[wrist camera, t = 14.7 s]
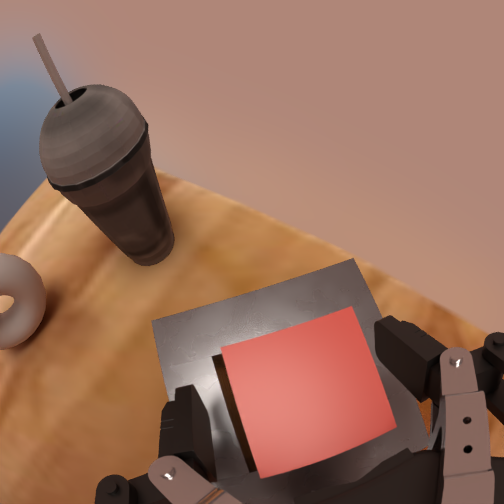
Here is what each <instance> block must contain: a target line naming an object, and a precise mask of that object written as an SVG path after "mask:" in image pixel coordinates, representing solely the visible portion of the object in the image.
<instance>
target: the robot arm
mask: <svg viewBox="0 0 504 504" xmlns="http://www.w3.org/2000/svg"><path fill="white" fill-rule="evenodd" d="M374 338H375V352H376V355H377V358H378V359H379V361H380V362H381V363H382V364H383V365H384V366H385V367H386V368H387V369H388V370H389V371H390V372H391V373H392V374H393V375H394V376H395V377H396V378H397V379H398V380H399V381H400V382H401V383H402V384H403V385H404V386H405V387H406V389H407V390H408V391H409V392H410V393H411V394H412V395H413V396H414V397H415V398H416V399H417V400H418V401H419V402H420V403H422V402H423V401H425V400H427V399H428V398H430V399H431V400H432V404H431V425H430V439H429V445H428V449H427V450H422V451H417V452H413V453H412V452H411V451H410V450H409V449H408V447H407V448H405V449H404V450H402V451H400V452H399V453H397V454H395V455H393V456H391V457H390V458H388V459H386V460H384V461H382V462H381V463H380V464H379V465H377V466H376V467H375V468H374V469H372V470H371V471H370V472H368V473H367V474H366V475H365V476H363V477H362V478H361V479H359V480H357V481H355V482H351V483H346V484H341V485H336V486H331V487H325V488H322V489H319V490H316V491H313V492H310V493H308V494H305V495H302V496H298V497H295V498H293V499H294V502H295V504H504V457H492V456H490V437H489V425H488V416H487V409H488V410H489V411H490V412H491V413H492V414H493V415H494V416H495V417H496V418H497V419H498V420H499V421H500V422H501V423H502V424H503V425H504V380H503V379H502V377H503V374H504V333H500V332H496V333H492V334H489V335H488V336H487V337H486V338H485V342H484V346H483V347H481V348H478V349H476V350H473V351H470V352H469V351H468V350H466V349H464V348H460V347H454V348H449V349H448V348H446V347H445V346H444V345H442V344H441V343H440V342H438V341H437V340H435V339H434V338H433V337H431V336H430V335H427V333H426V332H424V331H423V330H421V329H420V328H419V327H417V326H416V325H414V324H413V323H409V322H406V321H401V322H400V321H398V320H397V319H396V318H394V317H393V316H391V315H389V316H387V317H384V318H382V319H380V320H378V321H376V322H375V323H374ZM160 428H161V430H160V440H159V455H158V459H157V460H155V461H154V462H153V463H152V464H151V466H150V467H149V470H148V473H146V474H144V475H142V476H139V477H136V478H133V479H130V480H128V481H127V480H126V479H125V478H124V477H122V476H120V475H110V476H107V477H105V478H103V479H102V480H101V481H100V482H99V484H98V486H97V489H96V497H95V504H243V503H242V502H240V501H239V500H237V499H236V498H234V497H233V496H231V495H230V494H228V493H227V492H225V491H224V490H222V489H218V488H216V487H215V486H213V485H212V484H211V483H213V482H218V480H217V473H216V466H215V458H214V450H213V441H212V432H211V423H210V417H209V414H208V411H207V409H206V407H205V405H204V403H203V401H202V399H201V397H200V395H199V393H198V392H197V390H196V388H195V386H194V385H193V384H191V385H186V386H182V387H178V388H176V389H175V400H174V401H169V402H167V403H166V405H165V407H164V408H163V410H162V415H161V427H160Z"/></svg>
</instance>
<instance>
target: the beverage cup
mask: <svg viewBox="0 0 504 504" xmlns="http://www.w3.org/2000/svg"><path fill="white" fill-rule="evenodd" d="M33 41H34V43H35V45H36V48H37V50H38V52H39V54H40V56H41V58H42V61H43V63H44V65H45V67H46V69H47V71H48V73H49V75H50V77H51V79H52V81H53V83H54V85H55V87H56V89H57V91H58V93H59V95H60V96H61V98H60V99H59V100H58V101H57V103H56V104H55V105H54V106H53V107H52V108H51V110H50V111H49V113H48V115H47V117H46V118H45V121H44V123H43V126H42V128H41V133H40V143H39V153H40V159H41V163H42V166H43V169H44V171H45V172H46V174H47V178H48V181H49V183H50V184H51V186H52V187H53V188H54V189H55V190H58V191H60V192H61V194H62V195H63V196H64V197H66V198H67V199H68V200H69V201H70V202H72V203H73V204H75V205H77V206H78V207H79V208H80V209H81V210H82V211H83V212H84V213H85V214H86V215H87V216H88V217H89V218H90V219H91V220H92V222H93V223H94V224H95V225H96V226H97V227H98V228H99V229H100V230H101V231H102V232H103V233H104V234H105V235H106V236H107V237H108V238H109V239H110V240H111V241H112V242H113V243H114V244H115V245H116V246H117V247H118V248H119V249H120V250H122V251H123V252H124V253H125V254H126V255H127V256H129V257H130V258H131V259H132V260H133V261H134V262H135V263H137V264H140V265H144V266H150V265H154V264H157V263H159V262H160V261H162V260H164V259H165V258H166V257H167V256H168V255H169V253H170V252H171V250H172V248H173V245H174V234H173V232H172V228H171V222H170V219H169V216H168V213H167V210H166V206H165V203H164V200H163V197H162V193H161V190H160V187H159V183H158V180H157V177H156V173H155V170H154V166H153V163H152V159H151V149H150V141H149V134H148V123H147V122H146V121H145V119H144V117H143V116H142V115H141V113H140V112H139V110H138V108H137V107H136V106H135V104H134V103H133V101H132V100H131V99H130V98H129V97H128V96H127V95H126V94H124V93H122V92H121V91H119V90H117V89H115V88H112V87H109V86H104V85H87V86H83V87H79V88H76V89H74V90H72V91H70V92H68V91H67V89H66V87H65V86H64V83H63V81H62V79H61V78H60V75H59V73H58V71H57V69H56V67H55V65H54V63H53V61H52V59H51V57H50V55H49V53H48V50H47V48H46V46H45V44H44V41H43V39H42V37H41V35H40V34H37V35H36V36H34V37H33Z"/></svg>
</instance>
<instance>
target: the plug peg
mask: <svg viewBox="0 0 504 504" xmlns="http://www.w3.org/2000/svg"><path fill="white" fill-rule="evenodd" d="M220 348H221V351H222V355H223V359H224V362H225V366H226V370H227V373H228V377H229V380H230V384H231V387H232V391H233V394H234V397H235V401H236V404H237V407H238V411H239V414H240V417H241V421H242V424H243V427H244V430H245V433H246V436H247V440H248V443H249V446H250V449H251V452H252V455H253V458H254V461H255V464H256V467H257V470H258V472H259V475H260V478H261V479H262V478H266V477H270V476H274V475H277V474H281V473H285V472H288V471H291V470H295V469H298V468H301V467H304V466H307V465H310V464H313V463H316V462H319V461H322V460H324V459H327V458H330V457H332V456H335V455H337V454H340V453H342V452H345V451H347V450H350V449H352V448H354V447H357V446H359V445H361V444H363V443H366V442H368V441H370V440H372V439H374V438H376V437H378V436H380V435H382V434H384V433H386V432H388V431H390V430H392V429H394V428H396V427H397V425H396V422H395V419H394V416H393V413H392V410H391V407H390V404H389V401H388V399H387V396H386V393H385V390H384V387H383V384H382V382H381V379H380V376H379V373H378V371H377V368H376V365H375V363H374V360H373V357H372V355H371V352H370V350H369V347H368V345H367V342H366V339H365V337H364V334H363V332H362V330H361V327H360V325H359V322H358V320H357V317H356V315H355V313H354V310H353V308H352V306H350V307H348V308H345V309H342V310H339V311H336V312H334V313H331V314H328V315H325V316H322V317H319V318H316V319H314V320H311V321H308V322H305V323H302V324H298V325H295V326H292V327H289V328H286V329H283V330H280V331H276V332H273V333H270V334H266V335H263V336H260V337H256V338H253V339H249V340H246V341H242V342H239V343H235V344H231V345H228V346H224V347H220Z"/></svg>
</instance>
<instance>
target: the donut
mask: <svg viewBox="0 0 504 504" xmlns="http://www.w3.org/2000/svg"><path fill="white" fill-rule="evenodd" d="M1 295H8V296H11V297H13V298H14V303H13V305H12V306H11V307H10V308H9V309H8V310H7V311H5V312H3V313H0V350H4V349H8V348H11V347H15V346H17V345H18V344H20V343H22V342H24V341H25V340H26V339H28V338H29V337H30V336H31V335H32V334H33V333H34V332H35V330H36V329H37V327H38V326H39V324H40V323H41V321H42V318H43V315H44V312H45V309H46V291H45V288H44V285H43V282H42V279H41V276H40V275H39V274H38V273H37V271H36V270H35V269H34V268H33V267H32V265H31V264H30V263H28V262H26V261H25V260H23V259H21V258H19V257H18V256H15V255H9V254H4V253H0V296H1Z"/></svg>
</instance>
